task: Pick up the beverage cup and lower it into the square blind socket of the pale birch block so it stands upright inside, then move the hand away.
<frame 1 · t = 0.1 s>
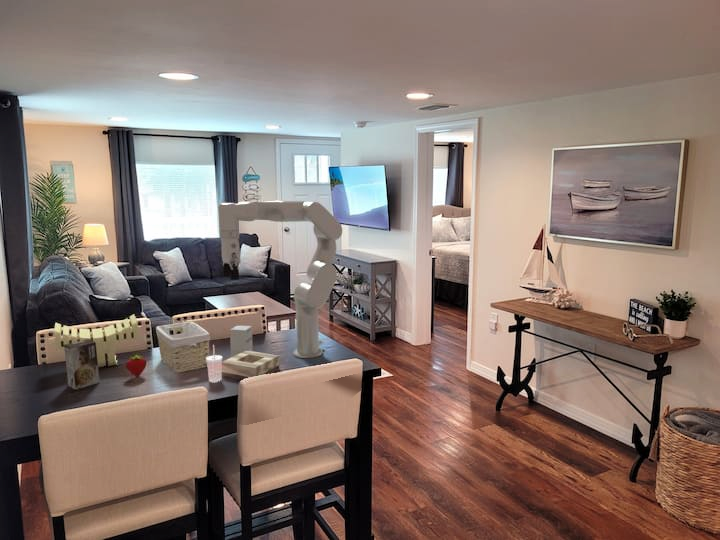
hand: (231, 277, 211), 37 cm above the table, tool pointing down, fingers open, 9 cm apart
coffee box: (84, 384, 199), on the table
storage basket: (184, 363, 222), on the table
strawberry: (137, 377, 206), on the table
slatted curved stool: (100, 364, 222), on the table
socket block: (251, 372, 211), on the table
beverage cup: (215, 380, 202), on the table
supplement box: (242, 356, 231), on the table
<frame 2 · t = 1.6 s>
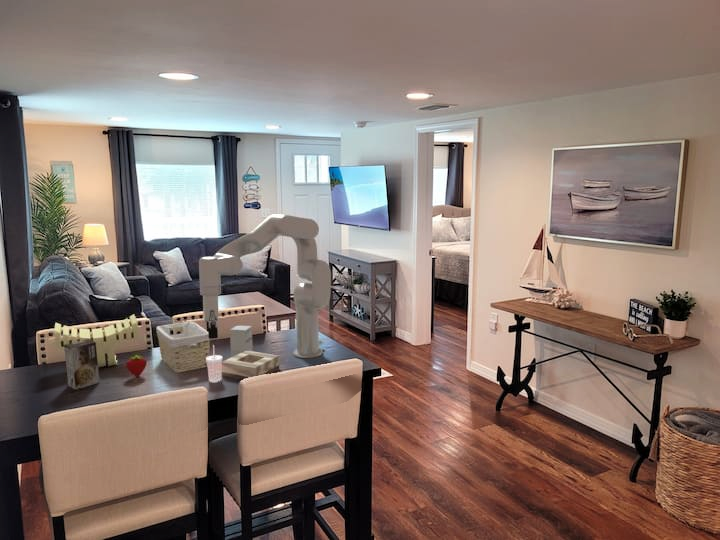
hand: (212, 334, 199), 18 cm above the table, tool pointing down, fingers open, 9 cm apart
nothing on the table moved.
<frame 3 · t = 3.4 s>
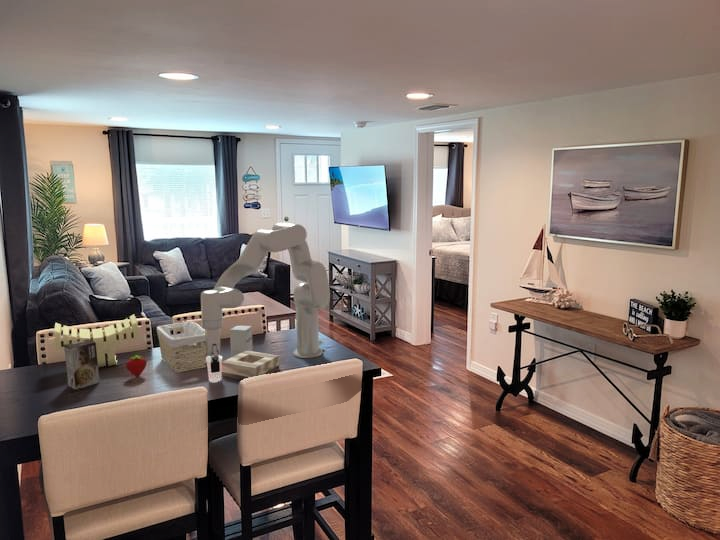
hand: (214, 368, 202), 5 cm above the table, tool pointing down, fingers closed on beverage cup, 6 cm apart
beverage cup: (215, 380, 202), on the table, touching gripper
everything else where it was.
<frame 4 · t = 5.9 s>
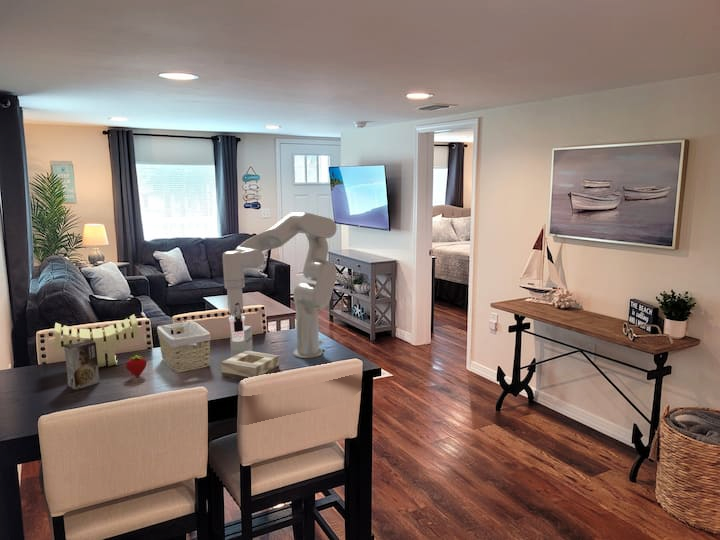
hand: (237, 328, 205), 19 cm above the table, tool pointing down, fingers closed on beverage cup, 6 cm apart
beverage cup: (238, 340, 206), point 14 cm above the table, touching gripper
everything else where it was.
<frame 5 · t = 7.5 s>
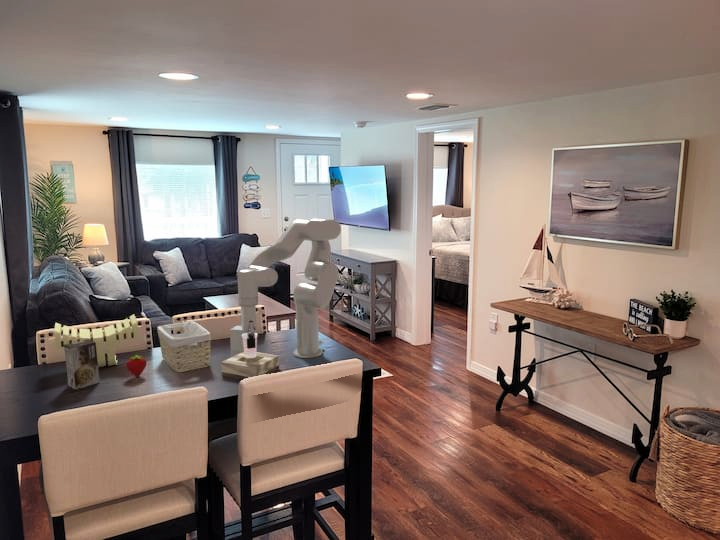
hand: (250, 345, 209), 11 cm above the table, tool pointing down, fingers closed on beverage cup, 6 cm apart
beverage cup: (250, 356, 210), point 6 cm above the table, touching gripper
everything else where it was.
when the fingers open (7 cm above the table, at t = 8.8 s): beverage cup stays where it is, resting on socket block.
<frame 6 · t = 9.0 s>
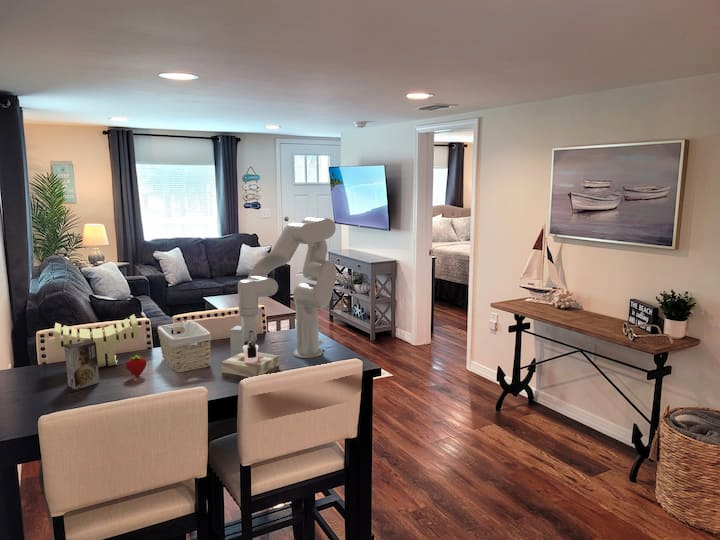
hand: (250, 353, 210), 8 cm above the table, tool pointing down, fingers open, 8 cm apart
beverage cup: (251, 368, 211), point 1 cm above the table, touching socket block
everything else where it was.
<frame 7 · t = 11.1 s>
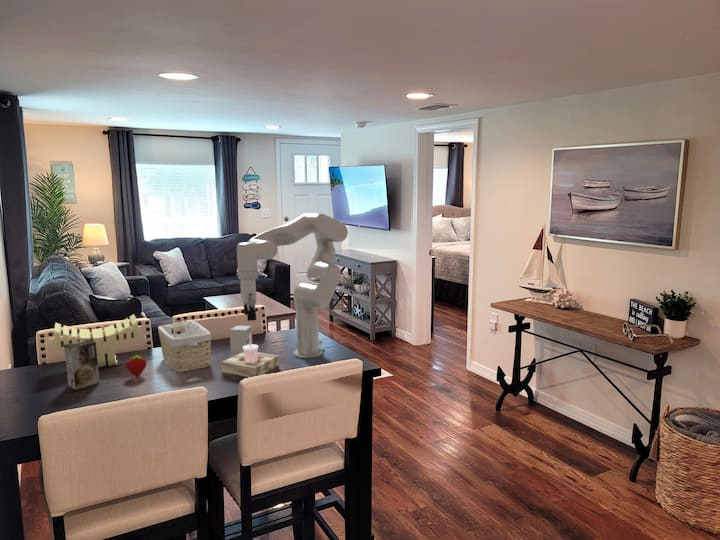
hand: (250, 317, 208), 22 cm above the table, tool pointing down, fingers open, 9 cm apart
nothing on the table moved.
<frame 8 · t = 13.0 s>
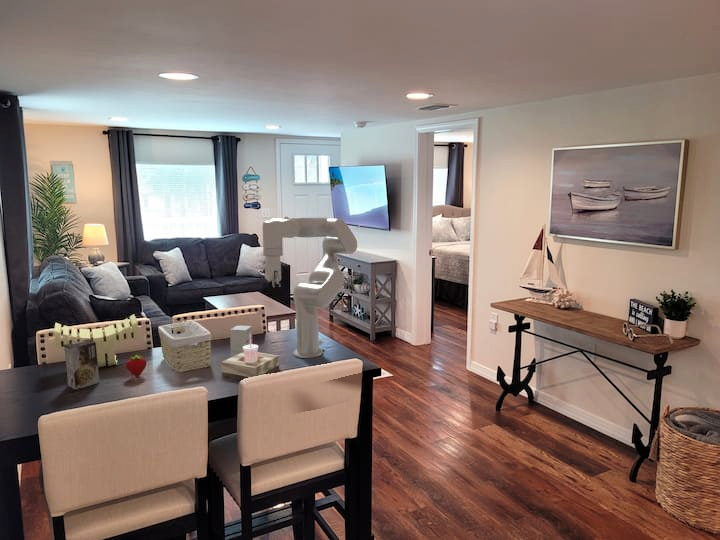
hand: (274, 294, 212), 30 cm above the table, tool pointing down, fingers open, 9 cm apart
nothing on the table moved.
at the end: beverage cup 0.2 cm off-centre on the socket block, point 1.3 cm above the socket block's base; beverage cup tilted 0°; the gripper is holding nothing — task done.
